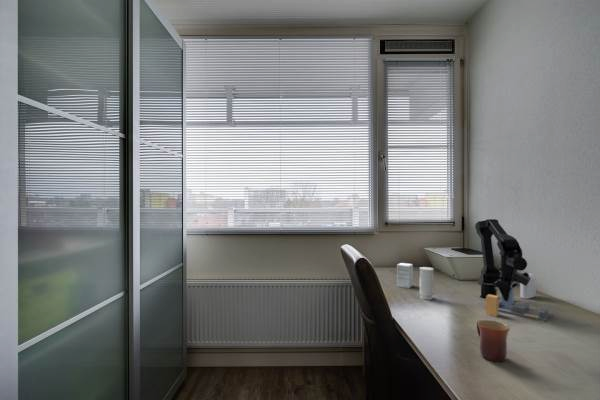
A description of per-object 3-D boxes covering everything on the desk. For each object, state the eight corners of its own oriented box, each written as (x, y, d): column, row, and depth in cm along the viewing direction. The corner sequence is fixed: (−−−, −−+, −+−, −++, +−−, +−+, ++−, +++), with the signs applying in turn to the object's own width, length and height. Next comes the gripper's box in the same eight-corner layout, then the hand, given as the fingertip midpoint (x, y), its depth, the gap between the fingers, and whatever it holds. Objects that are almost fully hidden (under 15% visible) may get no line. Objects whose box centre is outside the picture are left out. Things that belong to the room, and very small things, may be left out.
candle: (419, 299, 169) (419, 269, 169) (419, 295, 175) (419, 266, 175) (433, 300, 166) (434, 270, 166) (433, 296, 173) (433, 267, 173)
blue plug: (501, 304, 153) (501, 287, 153) (503, 302, 156) (503, 285, 156) (511, 306, 151) (511, 288, 151) (513, 304, 153) (513, 287, 153)
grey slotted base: (491, 310, 153) (491, 303, 153) (498, 304, 161) (498, 298, 161) (545, 321, 139) (545, 314, 139) (550, 314, 147) (550, 307, 147)
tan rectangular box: (485, 314, 147) (486, 296, 147) (488, 312, 150) (488, 294, 150) (496, 316, 144) (496, 297, 144) (498, 314, 147) (498, 296, 147)
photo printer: (527, 294, 179) (527, 271, 179) (536, 296, 175) (537, 272, 175) (518, 297, 173) (518, 273, 173) (527, 299, 169) (528, 275, 169)
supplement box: (400, 283, 199) (400, 262, 199) (413, 285, 195) (413, 264, 195) (396, 286, 193) (396, 264, 193) (409, 288, 189) (409, 265, 189)
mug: (516, 363, 102) (516, 330, 102) (488, 364, 102) (489, 330, 102) (490, 346, 114) (490, 316, 114) (466, 347, 114) (466, 316, 114)
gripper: (524, 271, 141) (523, 309, 141) (533, 265, 154) (533, 299, 154) (494, 267, 149) (493, 303, 149) (505, 262, 162) (505, 294, 162)
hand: (507, 300), depth 153 cm, fingers closed on blue plug, 4 cm apart
